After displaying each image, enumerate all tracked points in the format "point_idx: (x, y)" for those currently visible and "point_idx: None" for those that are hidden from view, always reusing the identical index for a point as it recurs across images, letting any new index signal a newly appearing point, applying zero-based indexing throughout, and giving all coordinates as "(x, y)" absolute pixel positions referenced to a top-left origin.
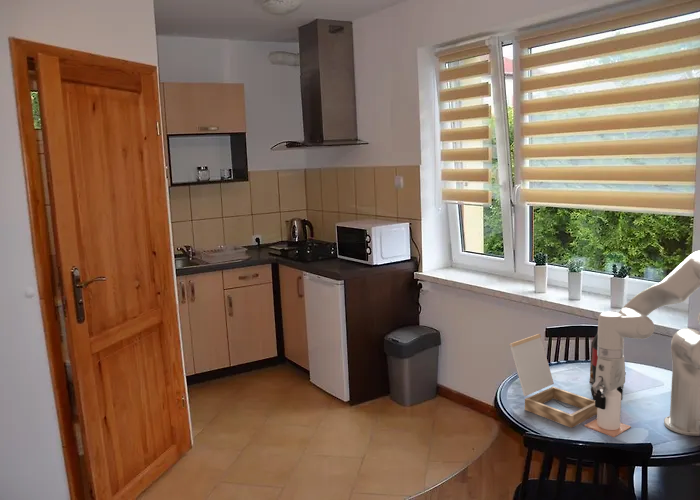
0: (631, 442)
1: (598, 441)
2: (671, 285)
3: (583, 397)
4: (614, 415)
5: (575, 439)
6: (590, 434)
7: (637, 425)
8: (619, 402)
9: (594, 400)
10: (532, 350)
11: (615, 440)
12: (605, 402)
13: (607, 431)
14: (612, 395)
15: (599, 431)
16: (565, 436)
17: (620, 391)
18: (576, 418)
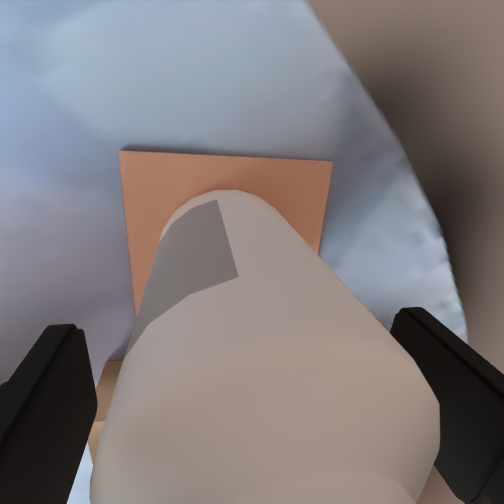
0: (328, 39)
1: (420, 196)
2: None
3: None
4: (293, 233)
5: (450, 275)
6: (367, 261)
7: (44, 132)
8: (276, 274)
9: (91, 448)
10: None
11: (360, 135)
12: (462, 356)
13: (300, 218)
14: (418, 412)
15: (316, 249)
16: (443, 314)
17: (20, 452)
18: None
